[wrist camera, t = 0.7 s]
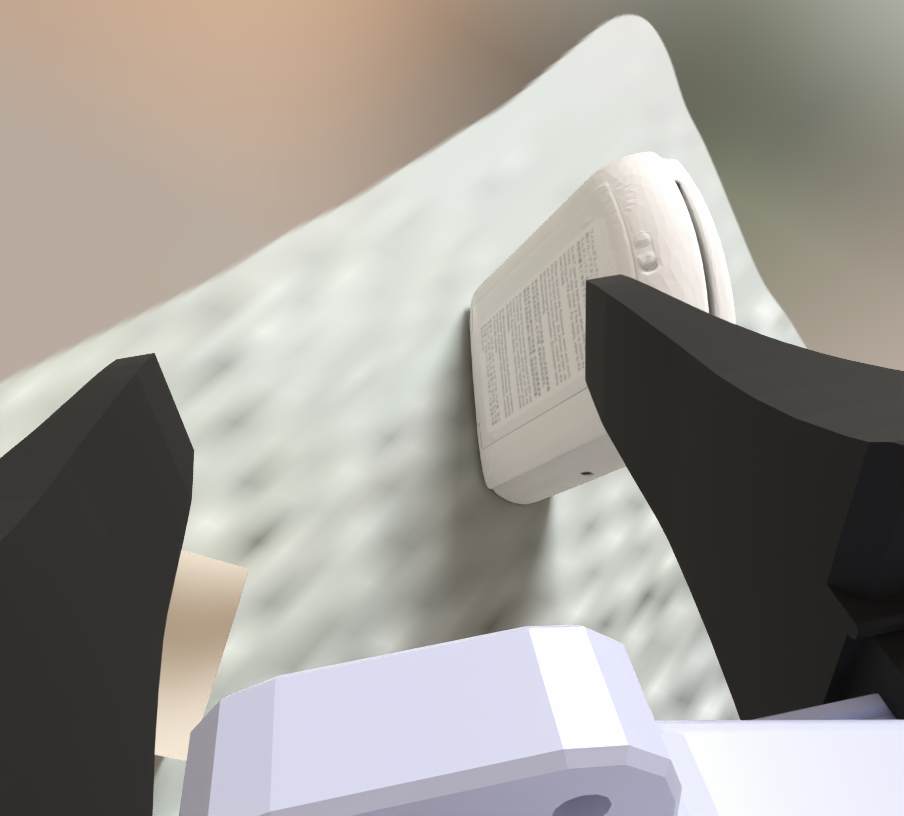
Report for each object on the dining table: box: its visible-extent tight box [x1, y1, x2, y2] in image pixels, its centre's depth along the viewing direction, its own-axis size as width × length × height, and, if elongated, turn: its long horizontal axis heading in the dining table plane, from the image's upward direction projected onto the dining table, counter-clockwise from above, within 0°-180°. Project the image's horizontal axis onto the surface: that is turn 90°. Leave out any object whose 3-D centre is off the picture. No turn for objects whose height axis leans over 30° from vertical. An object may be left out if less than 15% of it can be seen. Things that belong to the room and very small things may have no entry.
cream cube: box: [155, 550, 249, 761], centre depth 21 cm, size 5×5×5 cm
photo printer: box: [470, 152, 736, 504], centre depth 28 cm, size 10×4×12 cm, turn 6°
